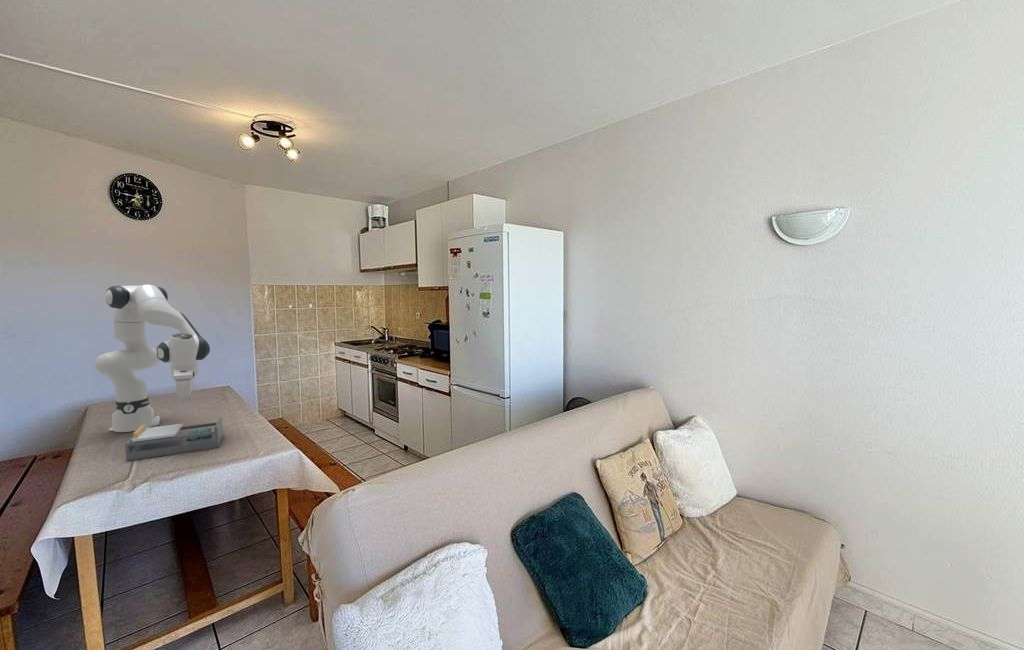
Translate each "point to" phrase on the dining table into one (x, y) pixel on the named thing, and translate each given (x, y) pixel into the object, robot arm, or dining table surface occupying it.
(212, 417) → the dining table surface
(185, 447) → the housing
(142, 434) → the lid
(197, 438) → the teal rounded capsule
